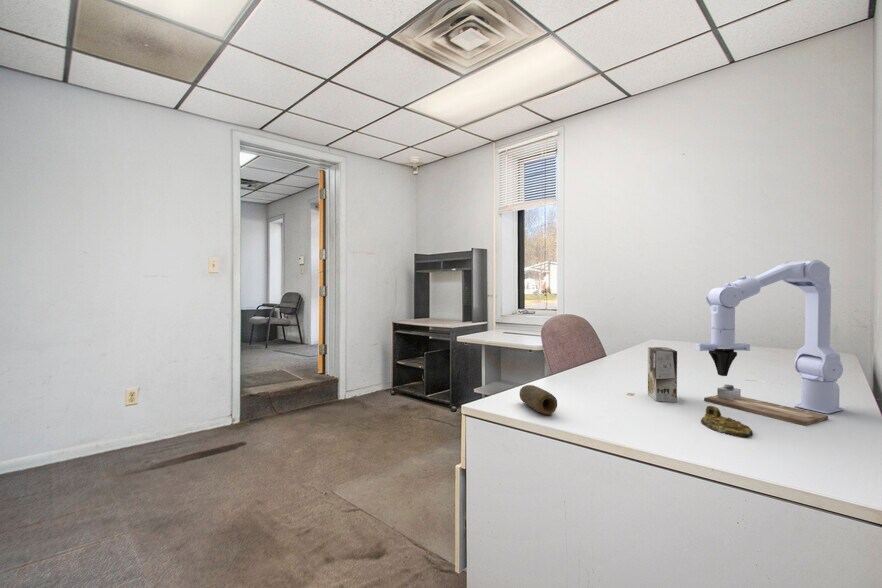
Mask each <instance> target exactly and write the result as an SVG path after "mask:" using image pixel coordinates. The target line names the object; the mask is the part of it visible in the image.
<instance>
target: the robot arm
mask: <svg viewBox="0 0 882 588" xmlns="http://www.w3.org/2000/svg"><path fill="white" fill-rule="evenodd" d="M830 271H831V270H830V267H829V265H827V264H826V263H824V261H822V260H820V259H813V260H804V261H786V262H783V263H780V264H777V266H775V267H773V268H771V269H769V270H766V271H765V272H762V273H760V274H758V275H756V276H755V277H753V276H749V275H747V276H746V275H741V276H739V277H738V279H737V280H735V281H731V282H727V283H724V285H723V286H722V287H714V288H712V289H711V290H710V291H709V292H708V294H707V296H706V297H705V300H706V302H707V304H708V305H709V311H710V342H703V343H702V342H700V343H699V342H698V343H695V350H696V351H699V352H703V351H704V352H705V351H708V354H709V355H710V356H711V357H710V358H711V359H712V360H713V363H714V366H715V368H716V371H717V376H721V377H727V376H728V373H729V370H730V368H731V366H732V363H733V362H734V360H735V359H736V357H737V356H738V352H737V351H746V352H749V351H751V343H745V342H742V343H741V342H740V343H739V342H736V339H735V338H736V337H735V336H736V307H738V306H739V305H740V303H741V302H742V301H745V300H747V299H748V298H750V297H753V296H755V295H758V294H759V293H760V292H761V288H763V287H766V286H769V285H772V284H775V283H777V282H780V281H783V282H785V283H787V284H789V285H792V286H794V287H796V288H798V289H800V290H801V291H803V293H805V309H804V310H805V313H804V314H805V316H804V317H805V318H804V320H805V321H804V325H805V326H804V345H803V346H802V347H800V348H799V349H797V351H796V357H795V359H794V362H793V366H794V367H793V368H794V369H795V371H796V372H797V373H798V376H799V377H800V378H801V379H800V380H801V382H800V384H801V385H800V386H801V387H800V389H801V390H800V403H797V404H794V408H797V409H802V410H804V409H805V410H806V411H811V412H816V413H820V414H825V415H828V414H829V415H830V414H832V413H837V412H839V411H844V408H843V407H841V406H840V386H839V384H838V383H837V382H838V380H839V379H840V378H841V377H842V375H843V372H844V368H843V364H842V362H841V355H840V353H838V351H836V350H834V349H833V348H832V346H831V312H832V311H831V308H832V305H831V304H832V285H831V280H830Z"/></svg>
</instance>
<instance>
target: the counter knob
mask: <svg viewBox="0 0 882 588" xmlns="http://www.w3.org/2000/svg"><path fill="white" fill-rule="evenodd" d="M734 386H735V385H732V384H724V386H721V387H717V388H716V389H717V398H721V399H726V400H730V401H732V400H737V399H741V397H742V396H741V395H742V394H741V391H742V390H741V388H736V387H734Z"/></svg>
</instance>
